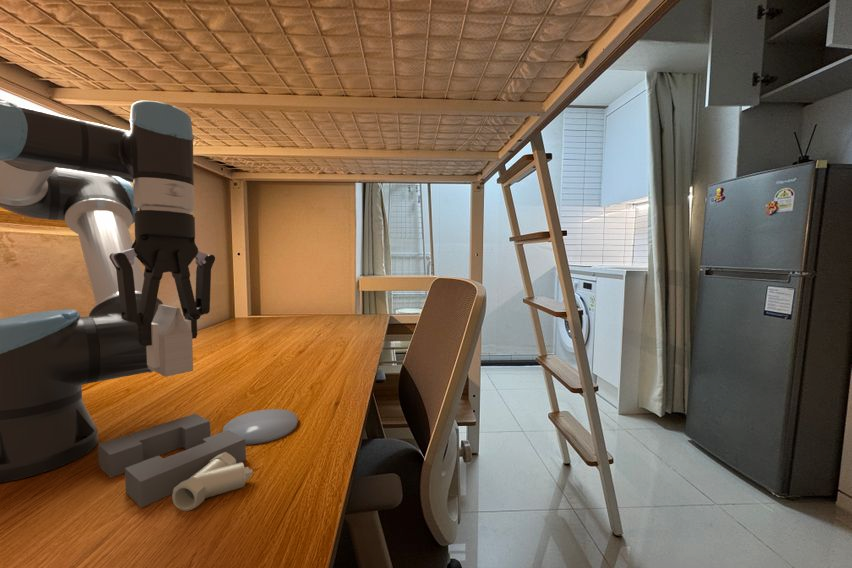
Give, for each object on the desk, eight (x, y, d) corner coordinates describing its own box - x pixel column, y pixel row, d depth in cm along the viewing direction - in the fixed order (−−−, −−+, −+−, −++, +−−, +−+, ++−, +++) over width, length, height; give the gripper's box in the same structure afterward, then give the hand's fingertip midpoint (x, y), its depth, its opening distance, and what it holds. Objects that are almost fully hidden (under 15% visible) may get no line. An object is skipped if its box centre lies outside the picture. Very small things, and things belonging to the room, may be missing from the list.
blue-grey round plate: (209, 431, 68) (209, 426, 68) (272, 408, 79) (272, 404, 79) (247, 452, 61) (247, 446, 61) (311, 424, 72) (311, 419, 72)
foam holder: (98, 465, 57) (97, 444, 56) (195, 431, 68) (195, 413, 68) (141, 507, 47) (140, 481, 47) (245, 459, 59) (245, 438, 59)
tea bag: (165, 376, 53) (163, 309, 53) (147, 368, 57) (145, 305, 57) (193, 370, 56) (191, 306, 56) (174, 363, 60) (172, 303, 60)
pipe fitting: (256, 481, 54) (214, 474, 55) (257, 456, 54) (215, 449, 55) (220, 519, 46) (171, 510, 47) (221, 490, 46) (173, 481, 47)
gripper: (102, 201, 46) (109, 381, 48) (233, 216, 60) (236, 355, 62) (84, 206, 50) (91, 371, 52) (210, 218, 64) (213, 348, 66)
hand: (170, 362), depth 57 cm, fingers closed on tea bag, 4 cm apart
